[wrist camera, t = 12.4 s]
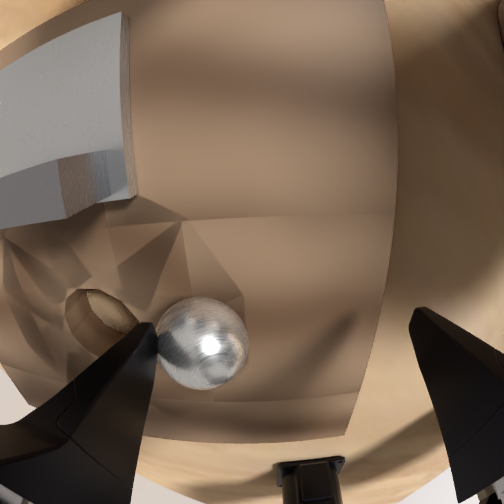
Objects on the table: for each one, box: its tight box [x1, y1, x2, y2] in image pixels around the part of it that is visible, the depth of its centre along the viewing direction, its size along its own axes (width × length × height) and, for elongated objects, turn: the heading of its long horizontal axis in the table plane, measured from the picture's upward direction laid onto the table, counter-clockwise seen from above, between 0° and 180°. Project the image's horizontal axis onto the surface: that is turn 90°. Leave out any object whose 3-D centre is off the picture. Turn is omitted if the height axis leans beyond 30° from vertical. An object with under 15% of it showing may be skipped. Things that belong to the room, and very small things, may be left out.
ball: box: [155, 297, 249, 390], centre depth 10 cm, size 4×4×4 cm
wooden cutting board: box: [0, 0, 398, 443], centre depth 12 cm, size 25×26×2 cm
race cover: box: [0, 12, 138, 229], centre depth 7 cm, size 7×7×4 cm
